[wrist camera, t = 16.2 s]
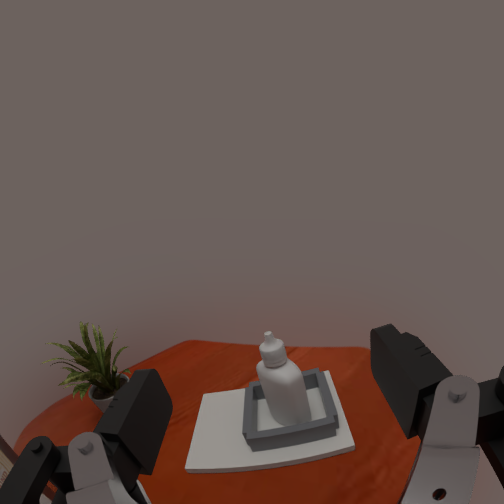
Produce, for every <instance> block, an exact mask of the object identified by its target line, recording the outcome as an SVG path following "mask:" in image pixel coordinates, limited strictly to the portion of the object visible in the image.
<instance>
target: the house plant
mask: <svg viewBox="0 0 504 504" xmlns="http://www.w3.org/2000/svg"><path fill="white" fill-rule="evenodd" d="M87 326H88V323H87V324H86V326H84V325H83V323H82V322H80V330H81V334H82V338H83V342H84V344H85V346H86V347H87V350H88V353H89V354H88V353H87V352H86V351H85V350H84V349H83V348H81V347H80V346H78V345H77V344H75V343H74V342H72V341H69V343H70V344H71V346H72V347H73V348H74V350H75V351H77V353H78V354H79V355H78V354H77V353H76V352H75V351H74V350H73V349H72V348H70V347H68V346H65V345H61V344H58V343H49V344H55V345H57V346H59V347H61V348H63V349H64V350H65V351H67V352H68V353H69V354H70V355H71V356H73V357H74V358H75V359H74V360H75V361H76V363H77V364H78V363H79V364H80V365H82V366H84V367H86V368H87V369H88V370H90V371H88V372H84V371H82V372H84V373H82V372H77V371H75V370H74V369H72V368H67V367H63V368H65V369H67V370H69V371H71V372H72V373H70V374H69V375H68V377H67V379H66V380H65V381H64V382H62V383H61V384H59V385H64V384H67V383H70V382H77V381H84V380H88V381H89V383H81V384H79V385H78V384H70V385H68V386H71V385H77V386H76V387H75V388H74V391H73V398H74V395H75V394H76V393H77V392H78V391H79V390H80V397H81V400H82V398H83V396H84V395H85V393H86V392H87V390H88V388H89V386H90V385H91V384H92V386H91V388H90V389H89V397H90V398H91V400H92V401H93V402H94V403H95V404H96V405H97V406H98V408H99V409H100V410H101V411H102V412H103V413H104V412H105V411H106V409H107V408H108V406H109V404H110V402H111V401H113V397H114V396H115V394H116V392H117V391H118V390H119V389H120V388H121V387H122V386H123V385H124V384H125V383H127V382H129V378H128V377H127V376H126V375H125V374H122V373H123V372H129V373H130V371H129V369H125V370H124V371H123V372H122V373H120V374H119V373H117V367H116V366H114V364H115V361H116V358H117V356H118V355H119V354H120V352H121V351H122V350H123V349H125V348H127V347H123V348H121V349H120V350H119V351H118V352H117V354H116V356H115V358H114V361H113V366H112V374H111V373H110V358H111V347H112V343H113V340H112V341H111V342H110V344H109V345H108V347H107V349H106V351H105V349H104V340H103V335H102V332H101V329H100V327H99V328H98V329H99V340H98V335H97V332H96V329H95V327H94V325H93V324H92V327H93V334H94V338H95V342H96V347H97V353H95V351H94V350H93V348H92V345H91V343H90V340H89V337H88V330H87ZM115 333H116V332H115ZM115 333H114V335H115ZM116 338H117V337H116ZM113 339H114V336H113ZM99 341H100V345H99ZM100 347H101V349H100ZM69 349H70V350H71V351H70V350H69ZM56 359H63V358H54V359H51V360H56ZM51 360H48V361H51ZM48 361H45V362H48ZM69 361H70V360H69ZM45 362H43V363H45ZM57 363H58V362H57ZM63 363H66V362H63ZM66 364H69V363H66ZM69 365H71V364H69ZM71 366H73V365H71ZM73 367H75V366H73ZM75 368H77V367H75ZM77 369H79V368H77ZM79 370H80V369H79ZM80 371H81V370H80ZM116 373H117V374H116ZM130 374H131V373H130ZM97 380H98V381H97ZM68 386H66V387H68ZM66 387H65V388H66Z"/></svg>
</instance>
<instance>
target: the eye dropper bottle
mask: <svg viewBox="0 0 504 504" xmlns="http://www.w3.org/2000/svg"><path fill="white" fill-rule="evenodd" d="M264 335H265V342H263V343H262V344H261V345H260V347H259V350H260V353H261V356H262V361H260V362H259V363H258V364H257V368H256V369H257V373H258V377H259V380H260V383H261V386H262V389H263V392H264V395H265V398H266V402H267V405H268V408H269V410H270V413H271V415H272V416H273V418H274V419H275V420H276V421H277V422H279V423H280V424H282V425H284V426H291V425H295V424H300V423H305V422H309V421H310V420H311V411H310V406H309V402H308V397H307V392H306V387H305V383H304V379H303V375H302V373H301V371H300V369H299V368H298V367H297V366H296V365H295V364H294V363H293V362H292V361H291V360H289V359H288V358H287V355H286V351H285V347H284V343H283V341H282V340H280V339H275V338H274V336H273V334H272V332H270V331H268V332H266V333H265V334H264Z"/></svg>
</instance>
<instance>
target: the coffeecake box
mask: <svg viewBox="0 0 504 504" xmlns="http://www.w3.org/2000/svg"><path fill="white" fill-rule="evenodd" d="M13 466H14V465H13V464H12V462H11V461H10V460H9V459H8V458H7V457H6V456H5V455H4V453H3V452H2V451H1V450H0V488H1V486H2V484H3V483H4V481H5V479H6V477H7V476H8V474H9V472H10V471H11V469H12V467H13ZM51 503H52V501H51V500H50V499H49V498H47V497H46V496H45V495H44V494H43V493H42V494H41V497H40V504H51Z"/></svg>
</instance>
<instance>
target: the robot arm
mask: <svg viewBox="0 0 504 504" xmlns="http://www.w3.org/2000/svg"><path fill="white" fill-rule="evenodd" d="M370 338H371V339H370V342H371V369H372V373H373V376H374V378H375V380H376V382H377V384H378V386H379V387H380V389H381V391H382V393H383V395H384V396H385V398H386V400H387V402H388V404H389V406H390V407H391V409H392V411H393V413H394V415H395V417H396V418H397V420H398V422H399V424H400V426H401V428H402V430H403V432H404V434H405V435H406V437H407V439H410V438H412V437H414V436H417V435H418V436H419V438H420V439H421V443H420V446H419V449H418V452H417V455H416V458H415V461H414V464H413V466H412V469H411V472H410V474H409V477H408V479H407V482H406V484H405V487H404V489H403V491H402V493H401V496H400V498H399V500H398V502H397V504H469V502H470V498H471V494H472V491H473V486H474V481H475V478H476V473H477V468H478V462H479V456H480V449H479V447H475V445H478V444H479V445H480V446H481V448H482V450H483V451H484V453H485V455H486V456H487V458H488V460H489V462H490V464H491V466H492V467H493V469H494V471H495V473H496V475H497V477H498V479H499V481H500V482H501V484H502V486H503V488H504V366H503V367H502V369H501V372H500V374H499V377H498V378H496V379H492V380H488V381H485V382H481V383H476V382H475V381H474V380H473V379H471V378H470V377H467V376H462V375H455V376H453V375H452V373H451V372H450V371H449V370H448V369H447V368H446V367H445V366H444V365H443V364H442V363H441V362H440V360H439V359H438V358H437V357H436V356H435V355H434V354H433V353H431V351H430V350H429V349H428V348H427V347H425V345H424V343H423V342H422V341H421V340H420V339H419V338H418V337H416V336H414V335H411V334H409V333H407V332H405V333H403V334H400V332H399V331H398V330H397V329H396V328H395V327H394V326H393V325H392V324H387V325H384V326H381V327H378V328H375V329H372V330H371V333H370ZM172 409H173V406H172V401H171V398H170V396H169V394H168V392H167V390H166V388H165V386H164V384H163V382H162V380H161V378H160V376H159V374H158V372H157V371H156V370H155V369H142V370H136V371H135V372H134V373H133V375H132V377H131V378H130V380H129V382H127V383H125V384H124V385H123V386H122V387H121V388H120V389H119V390H118V391H117V392H116V394H115V396H114V397H113V401H111V402H110V404H109V406H108V408H107V409H106V411H105V412H104V414H103V416H102V417H101V419H100V421H99V422H98V424H97V426H96V428H95V429H94V431H93V432H85V433H82V434H80V435H78V436H76V437H75V438H74V439H73V440H72V441H71V442H70V444H69V446H55V445H54V444H53V442H52V441H51V440H50V439H49V438H48V437H46V436H38V437H36V438H34V439H32V440H31V441H30V442H29V443H28V444H27V445H26V447H25V448H24V450H23V451H22V453H21V455H20V456H18V455H17V454H16V453H15V452H14V451H13V450H12V448H11V447H10V446H9V445H8V444H7V443H6V442H5V440H4V439H3V438H2V436H1V435H0V450H1V451H2V452H3V453H4V455H5V456H6V457H7V458H8V459H9V460H10V461H11V462H12V464H13V465H14V466H13V467H12V469H11V471H10V472H9V474H8V476H7V477H6V479H5V481H4V483H3V484H2V486H1V488H0V504H40V497H41V494H42V493H43V494H44V495H45V496H46V497H47V498H49V499H50V500H51V501H52V503H51V504H151V502H150V500H149V498H148V496H147V495H146V493H145V491H144V489H143V487H142V485H141V483H140V482H139V480H138V479H137V478H138V475H139V474H145V475H152V472H153V469H154V466H155V462H156V459H157V456H158V453H159V450H160V447H161V444H162V441H163V438H164V435H165V432H166V429H167V426H168V423H169V420H170V417H171V414H172ZM48 480H49V481H50V482H51V483H52V484H53V485H54V486H56V487H57V488H58V490H57V492H56V493H55V492H53V491H52V490H51V489H50V488H49V487H48V486H47V485H46V484H47V482H48Z"/></svg>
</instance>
